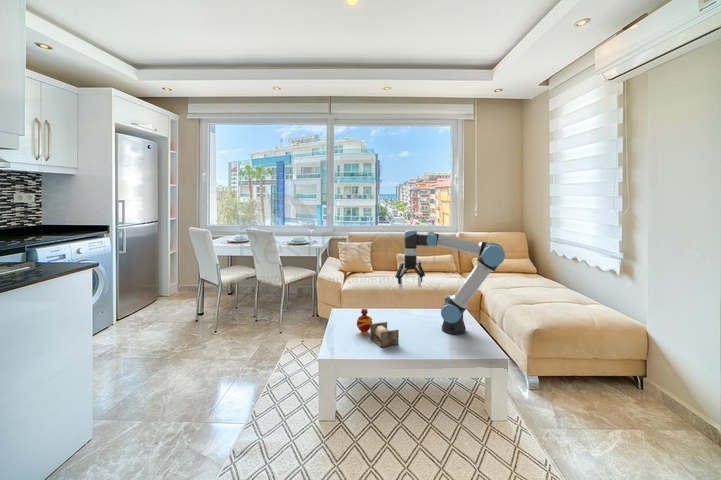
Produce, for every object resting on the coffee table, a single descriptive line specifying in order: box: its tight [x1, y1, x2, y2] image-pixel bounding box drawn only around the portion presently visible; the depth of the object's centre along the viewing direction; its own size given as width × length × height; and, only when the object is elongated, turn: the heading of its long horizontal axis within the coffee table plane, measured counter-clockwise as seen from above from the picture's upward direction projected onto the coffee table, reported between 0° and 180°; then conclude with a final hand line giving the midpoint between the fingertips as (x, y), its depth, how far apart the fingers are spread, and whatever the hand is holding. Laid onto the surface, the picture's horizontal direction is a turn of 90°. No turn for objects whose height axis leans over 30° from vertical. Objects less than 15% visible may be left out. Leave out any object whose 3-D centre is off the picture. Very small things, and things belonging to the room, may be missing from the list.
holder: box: [369, 321, 399, 349], centre depth 205 cm, size 11×16×9 cm
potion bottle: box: [356, 308, 374, 335], centre depth 220 cm, size 10×10×15 cm
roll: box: [375, 326, 390, 339], centre depth 205 cm, size 7×12×7 cm, turn 22°
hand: (410, 288), depth 219 cm, fingers open, 13 cm apart
